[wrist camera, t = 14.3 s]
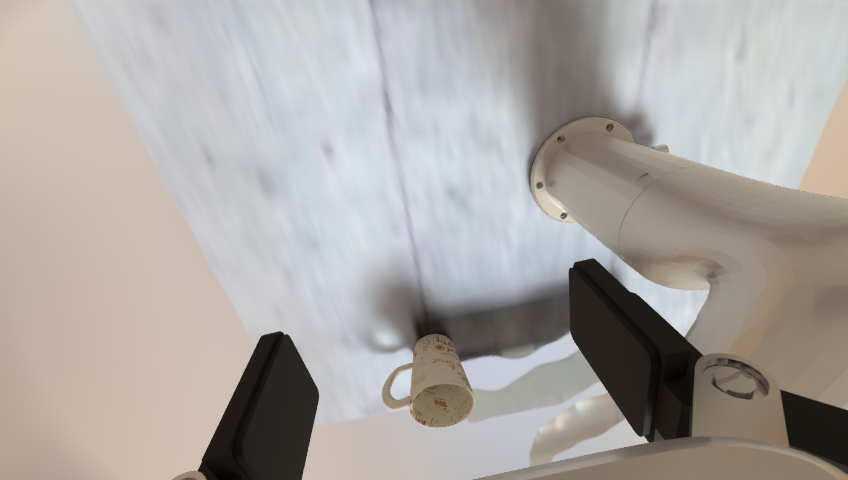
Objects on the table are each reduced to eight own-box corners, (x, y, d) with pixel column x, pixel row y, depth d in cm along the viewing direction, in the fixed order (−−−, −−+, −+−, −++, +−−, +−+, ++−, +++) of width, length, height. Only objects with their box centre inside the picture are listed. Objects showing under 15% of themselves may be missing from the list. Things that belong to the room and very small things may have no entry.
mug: (468, 356, 54) (483, 414, 45) (395, 384, 55) (396, 445, 46) (448, 319, 50) (461, 374, 41) (371, 350, 51) (367, 409, 42)
